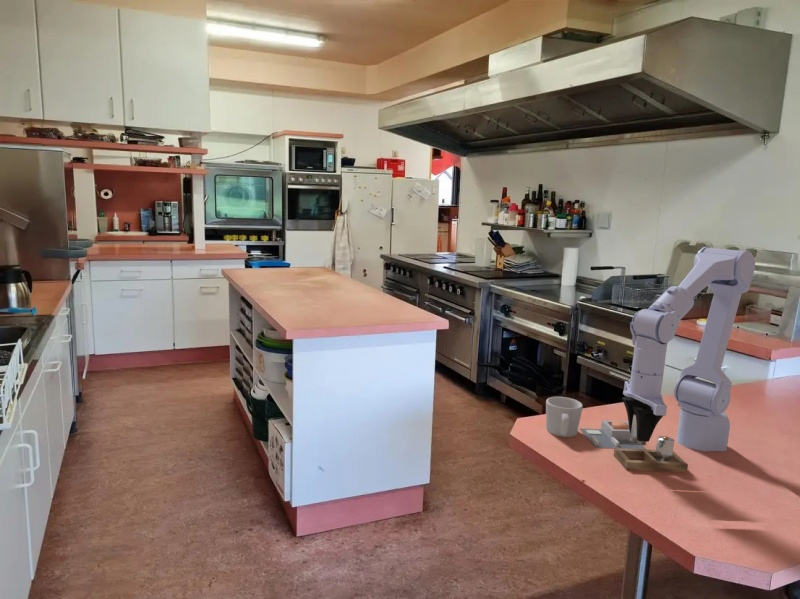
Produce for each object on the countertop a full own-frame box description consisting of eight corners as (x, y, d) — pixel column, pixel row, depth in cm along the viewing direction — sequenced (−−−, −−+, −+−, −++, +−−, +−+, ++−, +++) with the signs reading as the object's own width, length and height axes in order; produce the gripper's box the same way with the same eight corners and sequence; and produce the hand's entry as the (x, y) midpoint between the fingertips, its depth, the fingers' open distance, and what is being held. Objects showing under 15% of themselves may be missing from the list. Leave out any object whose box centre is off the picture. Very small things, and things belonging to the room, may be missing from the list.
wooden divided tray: (670, 463, 119) (672, 450, 118) (686, 477, 113) (688, 464, 112) (613, 461, 119) (614, 448, 118) (625, 475, 112) (627, 462, 112)
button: (624, 429, 131) (625, 421, 131) (630, 436, 128) (631, 427, 127) (608, 429, 131) (609, 420, 131) (614, 435, 128) (615, 426, 127)
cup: (582, 450, 123) (586, 415, 122) (544, 445, 125) (547, 410, 123) (577, 431, 134) (581, 398, 132) (542, 427, 135) (545, 394, 134)
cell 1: (642, 438, 116) (646, 410, 115) (649, 444, 113) (652, 416, 112) (627, 437, 116) (631, 410, 115) (634, 444, 113) (637, 415, 112)
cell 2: (666, 461, 117) (669, 434, 116) (673, 468, 114) (677, 440, 113) (651, 461, 117) (655, 433, 116) (658, 468, 114) (662, 440, 113)
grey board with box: (626, 435, 133) (627, 421, 132) (646, 454, 122) (647, 439, 122) (578, 433, 132) (580, 419, 132) (594, 453, 122) (596, 437, 122)
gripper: (612, 360, 119) (605, 422, 121) (643, 381, 105) (634, 451, 107) (646, 361, 119) (638, 423, 122) (681, 383, 105) (672, 453, 107)
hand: (639, 437), depth 114 cm, fingers closed on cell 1, 3 cm apart
